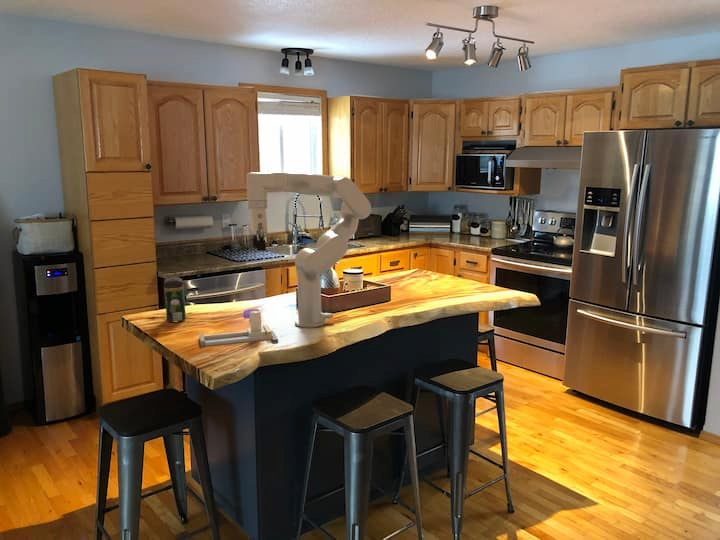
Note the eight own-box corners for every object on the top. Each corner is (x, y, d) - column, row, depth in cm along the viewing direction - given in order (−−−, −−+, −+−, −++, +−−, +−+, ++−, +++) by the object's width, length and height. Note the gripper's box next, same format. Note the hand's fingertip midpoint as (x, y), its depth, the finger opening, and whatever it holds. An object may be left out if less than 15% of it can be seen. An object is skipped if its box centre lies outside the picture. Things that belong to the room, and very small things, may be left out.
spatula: (261, 329, 240) (261, 323, 240) (244, 330, 239) (244, 324, 238) (258, 313, 263) (258, 308, 263) (243, 314, 262) (243, 309, 261)
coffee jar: (167, 317, 257) (164, 276, 254) (186, 316, 259) (183, 274, 256) (165, 323, 248) (162, 280, 245) (185, 322, 250) (182, 279, 247)
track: (272, 333, 233) (272, 323, 232) (278, 342, 221) (277, 331, 221) (199, 340, 224) (198, 330, 224) (201, 350, 213) (200, 339, 212)
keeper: (263, 333, 229) (262, 309, 227) (265, 337, 223) (264, 313, 221) (247, 334, 227) (246, 310, 225) (249, 339, 221) (248, 315, 219)
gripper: (271, 206, 220) (272, 251, 223) (263, 202, 236) (265, 245, 239) (250, 206, 218) (252, 252, 221) (244, 203, 234) (247, 246, 237)
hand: (259, 248), depth 230 cm, fingers open, 9 cm apart
